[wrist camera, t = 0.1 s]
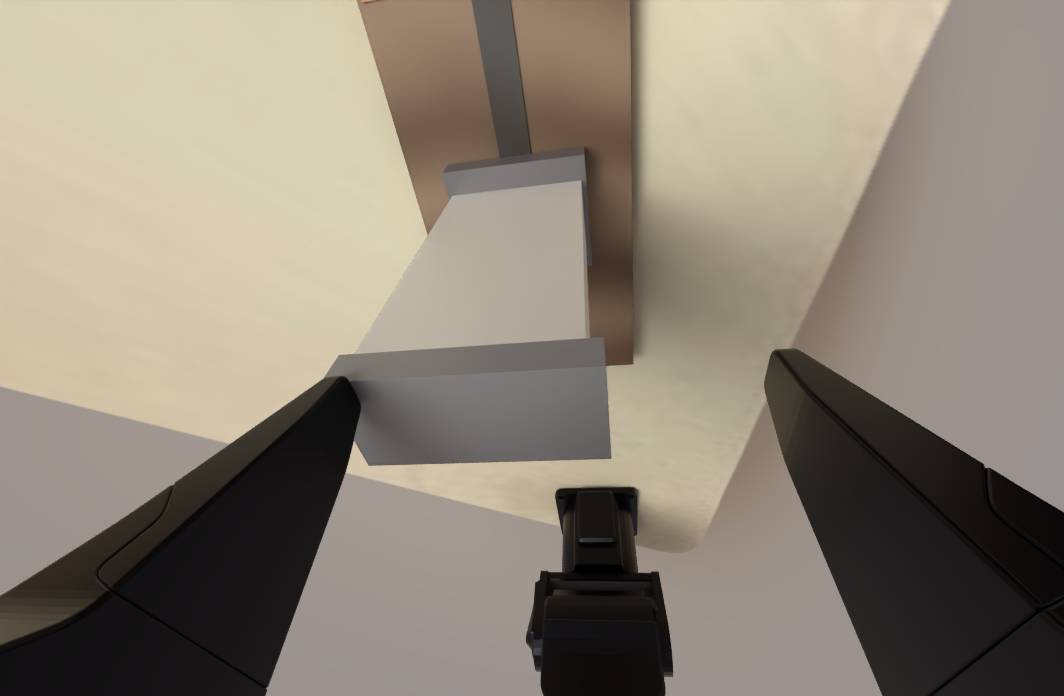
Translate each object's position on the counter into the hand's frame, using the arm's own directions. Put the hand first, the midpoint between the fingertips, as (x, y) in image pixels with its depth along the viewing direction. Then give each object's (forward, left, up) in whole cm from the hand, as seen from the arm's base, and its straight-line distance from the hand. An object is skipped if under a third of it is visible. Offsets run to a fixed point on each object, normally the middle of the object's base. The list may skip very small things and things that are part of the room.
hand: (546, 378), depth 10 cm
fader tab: (-1, +2, -13) cm, 13 cm away
